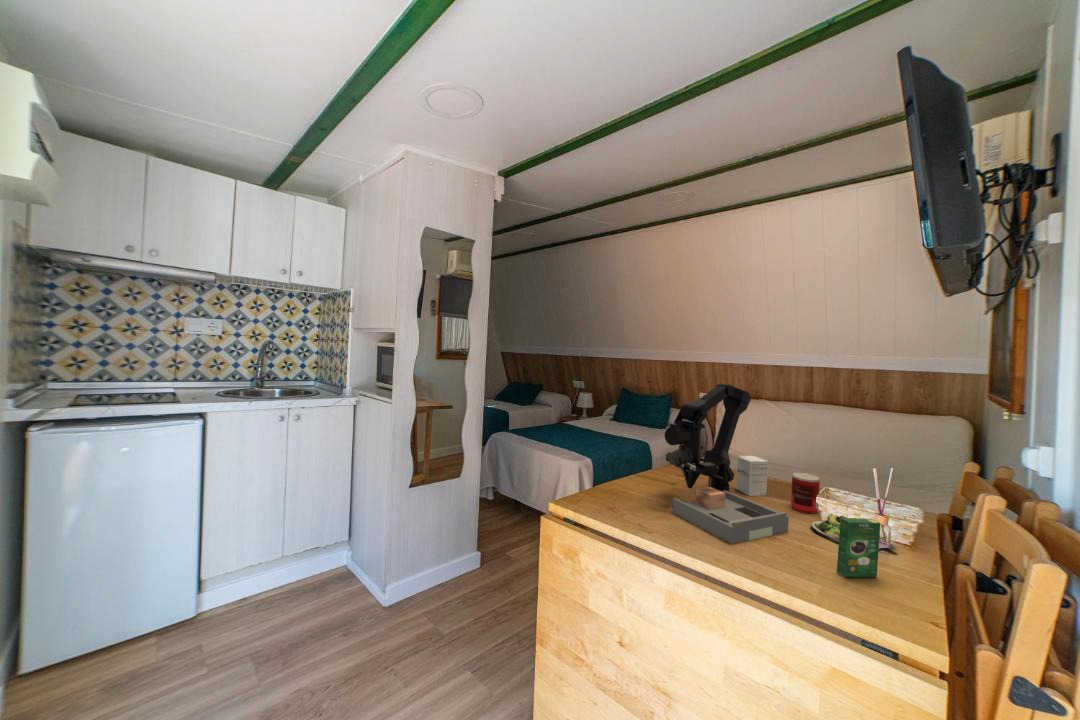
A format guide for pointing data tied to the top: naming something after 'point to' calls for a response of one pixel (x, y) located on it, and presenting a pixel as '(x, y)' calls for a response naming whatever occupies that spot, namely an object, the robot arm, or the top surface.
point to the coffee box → (858, 547)
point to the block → (710, 498)
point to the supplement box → (752, 475)
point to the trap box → (734, 518)
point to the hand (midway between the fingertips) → (689, 488)
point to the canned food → (804, 492)
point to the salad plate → (833, 528)
